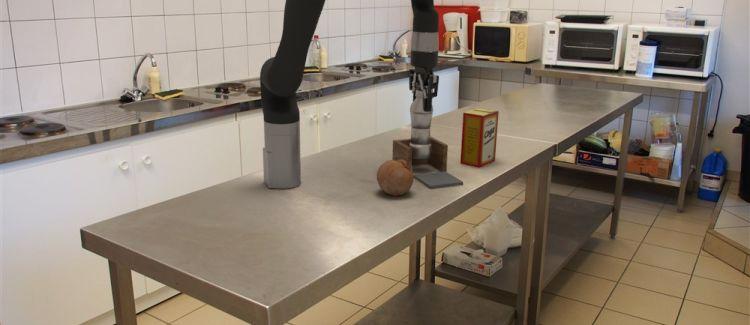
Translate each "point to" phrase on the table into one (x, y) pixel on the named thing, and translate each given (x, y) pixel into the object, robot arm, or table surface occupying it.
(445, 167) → the walnut rack
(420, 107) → the plastic bottle
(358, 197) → the table surface
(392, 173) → the onion
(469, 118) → the baking soda box
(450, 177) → the rubber mat
